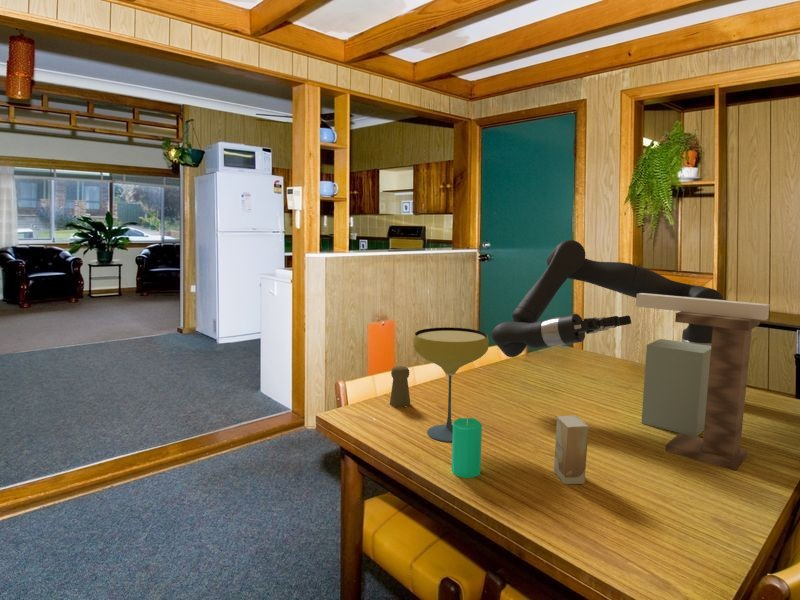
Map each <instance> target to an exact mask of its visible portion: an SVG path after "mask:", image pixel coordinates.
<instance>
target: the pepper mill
mask: <svg viewBox="0 0 800 600" xmlns="http://www.w3.org/2000/svg"><path fill="white" fill-rule="evenodd" d="M390 373H391V374H390V376H391V377H392V384H391V392H390V400H389V405H392V406H395V407H394V408H397V407H403V408H406V407H405V406H408V407H410V406H411V405H410V403H411V395H410V389H409V388H410V387H409V381H408V379H409V377H410V370H409V367H407V366H403V365H397V366H394V367H393V368H391V371H390ZM409 405H410V406H409ZM392 406H391V407H392Z"/></svg>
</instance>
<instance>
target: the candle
mask: <svg viewBox="0 0 800 600" xmlns="http://www.w3.org/2000/svg"><path fill="white" fill-rule="evenodd" d="M452 425H453V432H452V442H451V448H452V449H451V472H452V474H453V475H455V476H457V477H459V478H466V479H469V478H476V477H478V476H480V474H481V470H482V466H481V465H482V435H483V433H482V432H483V430H482V429H483V424H482V423H481V422H480V420H478V419H475V418H473V417H472V418H471V417H469V416H468V415H467V416H466V418H465V417H463V418H461V417H460V418H457V419H454V420H453V422H452Z"/></svg>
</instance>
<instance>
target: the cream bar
mask: <svg viewBox="0 0 800 600" xmlns="http://www.w3.org/2000/svg"><path fill="white" fill-rule="evenodd" d="M635 299H636V300H635V307H638V308H647V309H654V310H655V309H656V310H657V309H658V310H666V311H676V312H681V311H683V312H692V313H701V314H711V315H720V316H730V317H739V318H749V319H758V320H760V321H766V320H768V319H769V316H770V315H769V313H770V303H759V302H758V303H757V302H748V301H736V300H715V299H704V298H693V297H681V296H670V295H659V294H647V293H639V294H637V297H636V298H635Z"/></svg>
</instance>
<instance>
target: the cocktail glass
mask: <svg viewBox="0 0 800 600" xmlns="http://www.w3.org/2000/svg"><path fill="white" fill-rule="evenodd" d="M412 340H413V341H412V344H413V348H414V351H416V353H417V354H418V355H419V356H420V357H422V359H425V360H427V361H429V362H431V363H432V364H435V365H436V366H438V367H440V368H441V369H442V370H443V372H444V373H445V375H447V376H448V397H447V398H448V403H447V418H446V419H447V420H446V424H437V425H433V426H431V427H429V428H428V429H427V431H426V434H427V436H428V437H430V438H432V440H435V441H439V442H445V443H452V432H453V422H452V376H454V375H455V374H456V373H457V371H458V370H459V369H460V368H462V367H463V366H467V365H468V364H470V363H472V362H475V361H477V360H479V359H481V358H482V357H483V356H484V355H486V354H487V352H488V350H489V345H490V343H489V335H488V334H487V333H486V332H484V331H480V330H477V329H474V328H472V329H471V328H464V327H451V326H450V327H445V326H443V327H431V328H423V329H420V330H418V331H416V332H414V334H413V339H412Z"/></svg>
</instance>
